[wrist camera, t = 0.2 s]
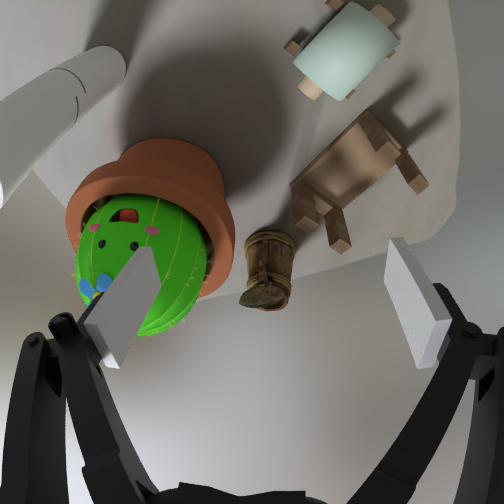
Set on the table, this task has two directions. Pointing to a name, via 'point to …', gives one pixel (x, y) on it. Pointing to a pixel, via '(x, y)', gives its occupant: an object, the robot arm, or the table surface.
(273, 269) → the wooden mug
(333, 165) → the roll holder
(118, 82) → the white tapered bar
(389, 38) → the paper roll
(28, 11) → the table surface
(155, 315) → the potted cactus
